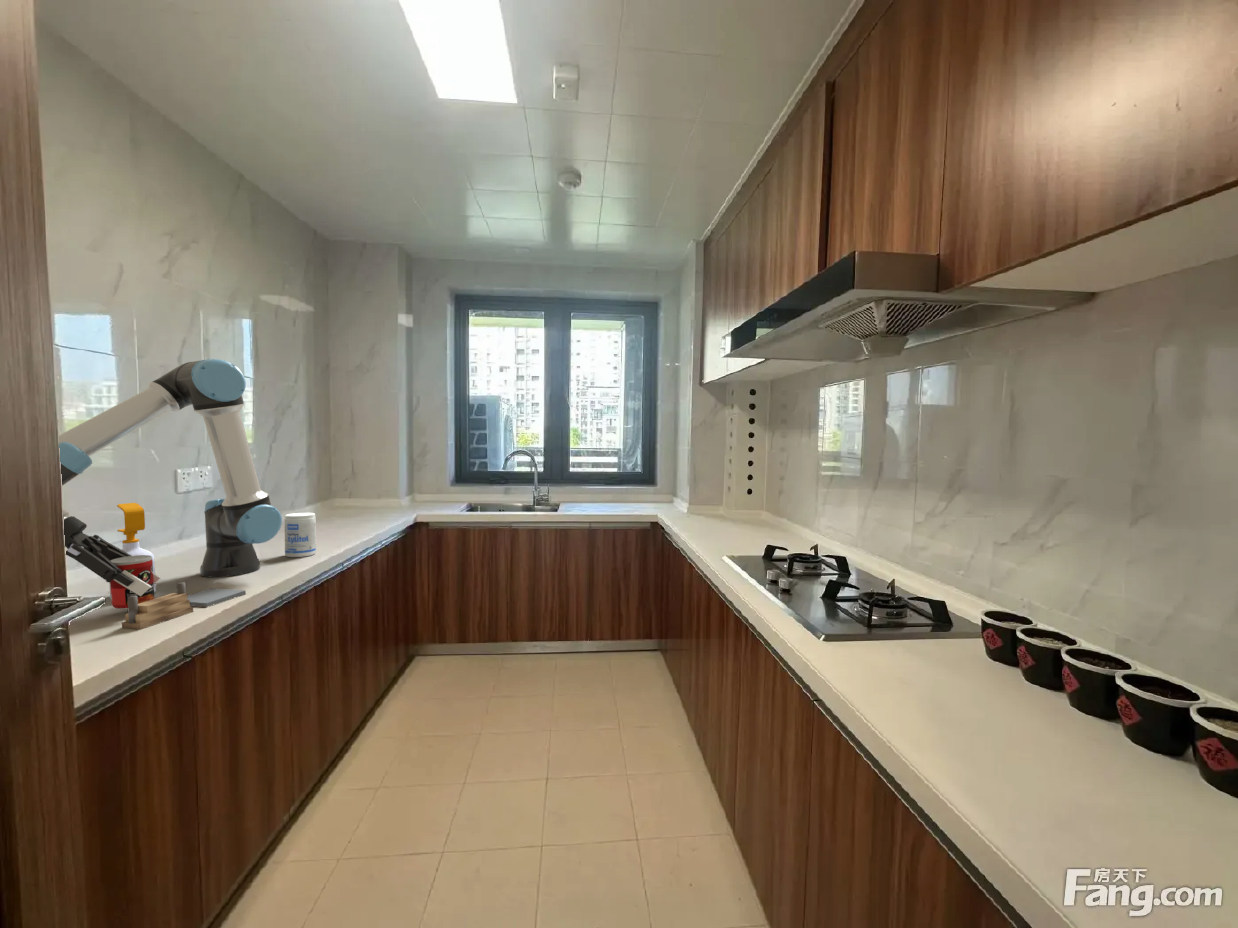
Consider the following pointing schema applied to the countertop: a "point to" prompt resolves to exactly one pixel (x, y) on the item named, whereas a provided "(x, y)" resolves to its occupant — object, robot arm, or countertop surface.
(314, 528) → the supplement tub
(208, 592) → the slate mat
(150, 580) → the canned food
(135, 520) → the soap bottle
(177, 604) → the offcut rack
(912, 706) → the countertop surface
